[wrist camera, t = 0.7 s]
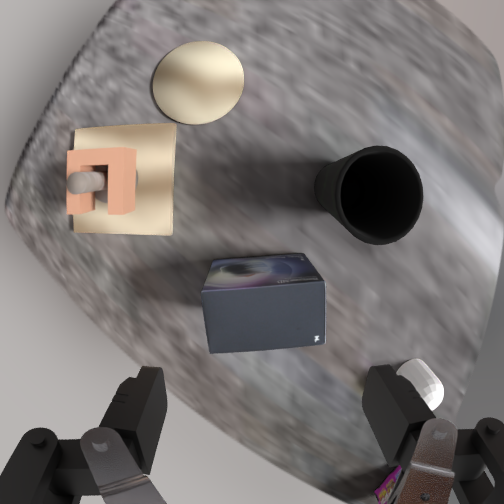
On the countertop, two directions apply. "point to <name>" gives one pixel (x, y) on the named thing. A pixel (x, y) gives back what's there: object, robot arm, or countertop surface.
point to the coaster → (198, 82)
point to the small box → (264, 304)
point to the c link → (118, 178)
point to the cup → (372, 194)
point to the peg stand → (147, 179)
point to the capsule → (423, 381)
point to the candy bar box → (387, 486)
